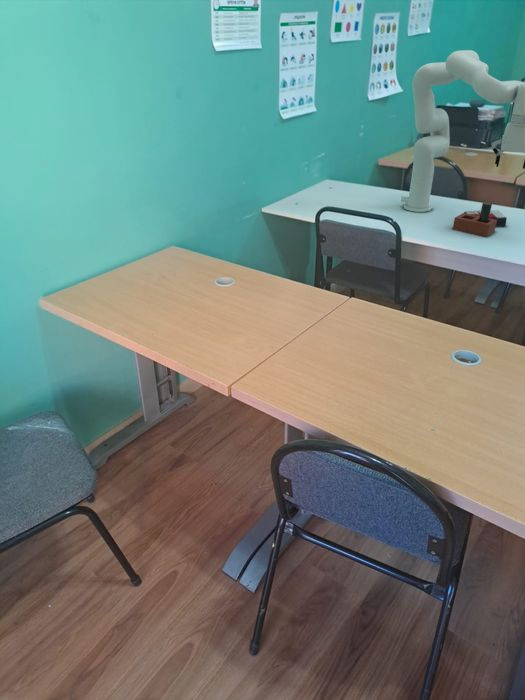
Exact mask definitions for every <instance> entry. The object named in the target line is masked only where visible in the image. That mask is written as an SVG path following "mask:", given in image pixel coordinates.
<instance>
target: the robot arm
mask: <svg viewBox="0 0 525 700" xmlns="http://www.w3.org/2000/svg"><path fill="white" fill-rule="evenodd" d="M458 80H461V81H462V82H464V83H466V84H467V85H469V86H471V87H472V89H473V91H474V92H475V94H477V95H478V96H479V97H480V98H482V99H484V100H485V101H487V102H489V103H490V104H493V105H503V104H511V103H514V104H513V108H512V112H511V117H510V121H509V122H507V124H506V127H505V129H504V132H503V135H502V138H501V139H498V140H496V141H492V142H491V144H490V145H491V149H492V151H493V153H494V155H495V156H496V157H495V162H494V165H496V166H495V167H496V168H498V167H499V166H500V160H501V155H502V154H503V153H504V152H509V153H522V154H523V153H524V154H525V82H524V81H520V80H514V79H513V80H503V81H501V80H499V79H497V78H495V77H493V76H492V75H491V74H489V65H488V64H487V63H485V62H483V61H482V60H480V56H479V54H478V52H476V51H475V50H471V49H465V50H464V49H463V50H455V51H453V52H451V54H449V55H448V56H447V58H446V61H442V62H430V63H426V64H424V65H422V66H420V67H419V68H418V69H417V70H416V72H415V74H414V76H413V78H412V83H411V89H412V90H411V91H412V95H413V108H414V110H413V111H414V124H415V130H416V132H418V133H419V134H422V135H423V134H430V135H428V136H424V137H421V138H419V139H418V140H416V142H415V143H414V145H413V148H412V157H413V158H412V159H413V160H412V171H411V179H410V184H409V192H408V196H405V195H402V196H401V197H400V201H401V202H403V203H404V202H405V203H404V204H403V208H404V210H407V211H410V212H413V213H414V212H415V213H425V212H430V211H431V210H432V208H433V206H432V204H430V199H431V193H432V187H433V181H434V174H435V163H434V159H437V158H440V157H443V156H445V155H446V154H447V153H448V151H449V150H450V143H451V141H450V139H451V138H450V137H451V136H450V118H449V115H448V113H447V111H446V110H444V109H443V108H436V100H435V95H434V94H435V93H434V92H433V90H432V87H433V86H444V85H449V84H452V83H453V82H455V81H458ZM498 145H500V148H499V149H497V146H498ZM522 169H523V170H525V159H524V160H523V164H522Z"/></svg>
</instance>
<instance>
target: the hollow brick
mask: <svg viewBox="0 0 525 700" xmlns="http://www.w3.org/2000/svg"><path fill="white" fill-rule="evenodd" d="M479 217H480V216H475V215H470V214H465V213H464V212H463V213H460V214H459V215H457V216H455V217H454V220H453V224H452V230H455V231H459V232H463V233H468V234H473V235H476V236H481V237H485V238H487V237H489V236H490V235H492V234H493V233H495V231H496V228H497V227H496V223H497V220H494V219H488V223H484V222H479Z"/></svg>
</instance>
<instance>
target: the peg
mask: <svg viewBox="0 0 525 700" xmlns="http://www.w3.org/2000/svg"><path fill="white" fill-rule="evenodd" d="M492 205H493V203H492V202H488V201H484V202H482V203H481V208H480V210H481V212H480V217H479V222H484V223H488V219H489V215H490V211H491V210H492Z"/></svg>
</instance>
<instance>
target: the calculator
mask: <svg viewBox="0 0 525 700" xmlns="http://www.w3.org/2000/svg"><path fill="white" fill-rule="evenodd" d="M480 212H481V209H479V210H465V211H464V212H463V213H465V214H470V215H475V216H480ZM489 219H494V220H497V223H496V227H495V228H497V227H499V228H500V227H506V224H507V219H508V217H506V216H505V214H503V213H502V212H501V211H500V210H499V209H491V211H490V215H489Z"/></svg>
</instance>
